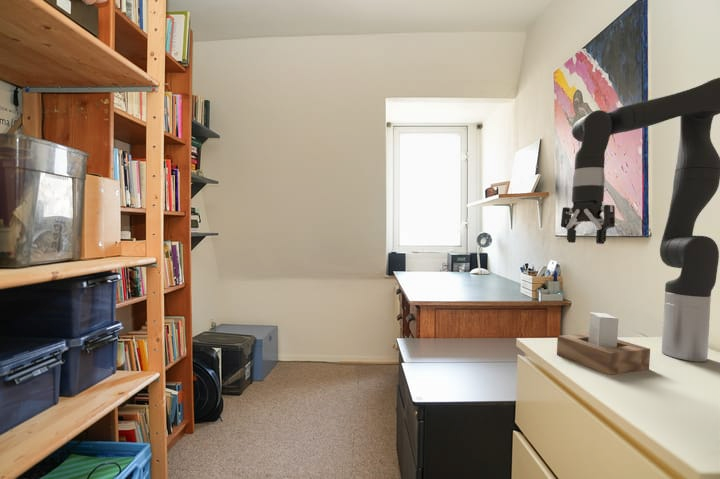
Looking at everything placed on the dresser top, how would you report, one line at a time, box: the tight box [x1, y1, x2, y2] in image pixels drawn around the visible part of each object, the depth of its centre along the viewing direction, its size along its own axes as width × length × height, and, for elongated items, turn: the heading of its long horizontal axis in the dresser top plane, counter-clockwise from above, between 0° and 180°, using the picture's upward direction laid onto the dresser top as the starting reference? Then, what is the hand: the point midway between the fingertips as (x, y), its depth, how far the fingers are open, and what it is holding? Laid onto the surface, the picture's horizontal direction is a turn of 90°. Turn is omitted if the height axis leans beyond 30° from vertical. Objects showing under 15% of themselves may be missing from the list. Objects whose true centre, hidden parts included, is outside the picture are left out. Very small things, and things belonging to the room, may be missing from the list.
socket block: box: [556, 332, 651, 376], centre depth 90 cm, size 14×14×5 cm
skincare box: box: [588, 311, 619, 348], centre depth 90 cm, size 6×4×12 cm
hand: (585, 243), depth 99 cm, fingers open, 8 cm apart
